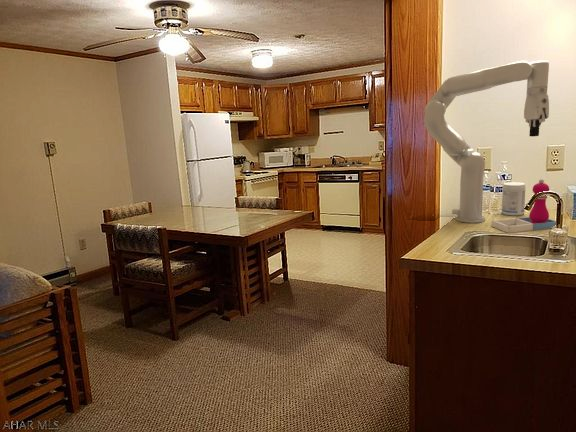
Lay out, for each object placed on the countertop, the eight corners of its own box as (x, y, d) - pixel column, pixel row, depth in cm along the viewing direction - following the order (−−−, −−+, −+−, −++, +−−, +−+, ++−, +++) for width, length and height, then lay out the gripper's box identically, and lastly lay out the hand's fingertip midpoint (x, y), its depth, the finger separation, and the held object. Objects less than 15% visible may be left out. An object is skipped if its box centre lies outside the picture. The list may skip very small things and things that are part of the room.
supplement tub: (514, 210, 208) (515, 181, 205) (529, 214, 199) (530, 183, 196) (497, 213, 206) (498, 183, 203) (511, 216, 197) (512, 185, 194)
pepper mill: (551, 228, 175) (554, 180, 170) (532, 228, 176) (535, 180, 172) (544, 223, 182) (547, 177, 177) (526, 224, 183) (528, 178, 179)
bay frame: (507, 232, 173) (507, 226, 172) (491, 225, 184) (491, 220, 183) (558, 227, 175) (559, 221, 174) (539, 221, 186) (539, 216, 185)
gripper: (558, 90, 171) (554, 136, 175) (533, 92, 186) (530, 135, 190) (540, 91, 170) (537, 137, 174) (517, 93, 185) (514, 136, 189)
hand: (534, 136), depth 182 cm, fingers closed
